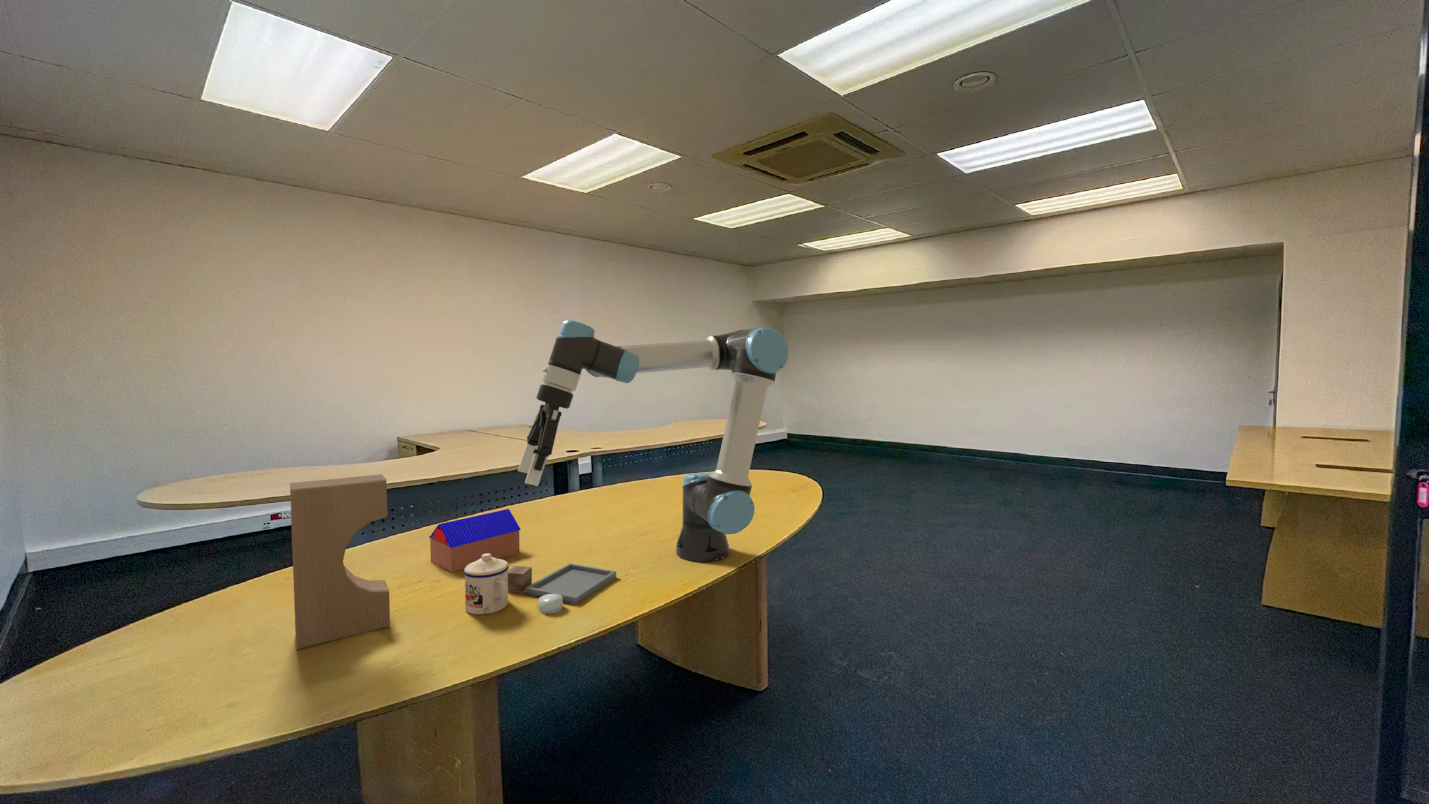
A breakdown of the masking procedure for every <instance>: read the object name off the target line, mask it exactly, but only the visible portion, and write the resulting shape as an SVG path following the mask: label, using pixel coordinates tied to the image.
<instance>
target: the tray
mask: <svg viewBox="0 0 1429 804" xmlns="http://www.w3.org/2000/svg"><path fill="white" fill-rule="evenodd" d="M614 579H617V571H616V570H610V569H605V568H599V567H593V566H588V565H583V564H576V563H572V562H571V563H570V562H569V563H567V564H565V565H563V566H562V567H559V568H558V569H557V570H555V571H552V572H551V573H549V574H547V575H545V576H544V577H542V578H540V579H538V580H536V581H535V582H532V584H531V585H529V586H527V587H525V591H524V595H525V596H530V597H535V598H538V599H539V598H540V597H542V596H544V595H547V594H559V595H561V596H562V597H563V603H564V604H569V605H573V606H576V605H578V604H579V603H581V602H582V601H584V600H585V599H586V598H587V599H588V597H590V596H591V595H593V594H594V593H595V592H597V591H599V590H600V589H602V588H603V587H604V586H606V585H607V584H609V583H610V582H612V581H613V580H614Z"/></svg>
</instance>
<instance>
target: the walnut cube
mask: <svg viewBox="0 0 1429 804" xmlns="http://www.w3.org/2000/svg"><path fill="white" fill-rule="evenodd" d="M532 568H533V567H532V566H525V565H524V566H522V565H513V566H512V567H510V568H508V593H509V592H512V593H525V587H527V586H529V585H531V584H533V576H532V574H533V572H532V571H533V569H532Z"/></svg>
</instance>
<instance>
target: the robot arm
mask: <svg viewBox="0 0 1429 804" xmlns="http://www.w3.org/2000/svg"><path fill="white" fill-rule="evenodd" d="M595 332H596V331H595V329H594V328H593V327H591V326H590V325H587V324H585V323H582V322H579V321H577V320H573V319H567V320H563V321H562V323H561V326H560V328H559V331H558V333H557V336H556V337H555V341H554V345H553V347H552V350H551V354H550V357H549V359H548V363H547V367H543V369H542V371H543V372H544V375H543V378H542V382H544V383H542V384H540V386H539V388H538V392H537V394H536V399H537V400H538V401H540V402H543V403H544V404H540V406H539V410H538V413H537V415H536V416H535V419H534V421H533V424H532V426H531V429H530V430H529V433H528V435H527V436H526V440H527V441H526V445H525V449H524V452H523V455H522V456H521V457H522V458H521V460H520V464H519V466H518V469H517V472H521V473H525V474H527V475H526V478H525V479H524V480H525V481H524V484H526V485H532V486H534V487H535V486H536V487H538V486H539V484H540V481H541V478H542V475H543V472H544V469H545V467H546V463H547V461H548V459H549V456H551V455H552V454H553V449H554V444H555V441H556V435H557V432H558V427H559V422H560V419H561V416H562V415H563V414H562V411H560V408H563V409H567V410H568V409H570V407H571V404H572V401H573V397H574V393H573V392H575V391H576V390H577V386H578V384H579V381H580V378H581V374H582V371H583V370H585V371H586V372H587V373H588V374H589V375H591V376H592V377H595V378H599V377H600V378H608V379H611V380H615V381H616V382H620V383H625V384H629V383H631V382H632V381H634V379H635V378H636V375H637V374H644V373H645V374H646V373H655V372H656V373H657V372H668V371H678V370H680V371H681V370H689V369H690V370H691V369H699V368H701V369H702V368H707V369H710V370H711V371H716V370H718V371H719V370H721V371H723V370H726V371H727V370H728V371H731V376H732V377H733V379H734V381H735V382H734V387H733V391H732V394H731V395H732V396H731V399H730V405H729V410H728V413H727V419H726V424H725V427H724V433H723V437H722V442H721V447H720V450H719V455H718V459H717V464H716V469H715V470H714V471H712V472H710V471H709V472H695V473H694V472H693V473H688V474H685V475H684V477H683V482H682V527H681V529H680V533H679V535H678V539H677V542H676V545H675V550H676V551H675V552H676V555H677V556H678V557H679V558H681V559H684V560H687V561H692V562H713V560H715V561H717V560H716V559H719V560H722V559H723V558H722V557H725V556H726V555H727V556H728V555H729V554H730V544H729V541H728V538H727V535H736V534H738V533H740V532H742V531H743V530H744V529H746V528H747V527H748V526H749V525H750V524H751V522H752V521H753V518H754V515H755V509H756V508H755V504H754V501H753V499H752V497H751V492H752V487H753V483H752V481H751V480H750V478H749V475H750V470H751V464H752V459H753V455H754V450H755V446H756V441H757V437H758V432H759V427H760V425H761V418H762V414H763V409H764V405H765V399H766V397H767V392H768V388H770V387H771V386H773V385H774V384H775V381H776V378H777V373H778V372H779V371H780V370H782V369H784V367H785V366H786V365H787V362H788V359H789V346H788V343H787V341H786V339H785V338H784V336H783V335H782V334H781V333H780V332H779V331H777V330H776V329H774V328H771V327H763V326H757V327H754V328H747V329H740V330H736V331H731V332H728V333H724V334H717V335H709V336H707V338H706V339H699V340H687V341H686V340H685V341H671V342H659V343H658V342H657V343H656V342H655V343H646V344H645V343H644V344H643V343H642V344H632V345H631V344H629V345H618V346H617V345H613V344H611V343H608V342H605V341H602V340H600V339H597V338H596V337H595ZM728 553H729V554H728ZM727 556H726V557H727ZM726 557H725V558H726ZM721 558H722V559H721Z"/></svg>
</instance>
